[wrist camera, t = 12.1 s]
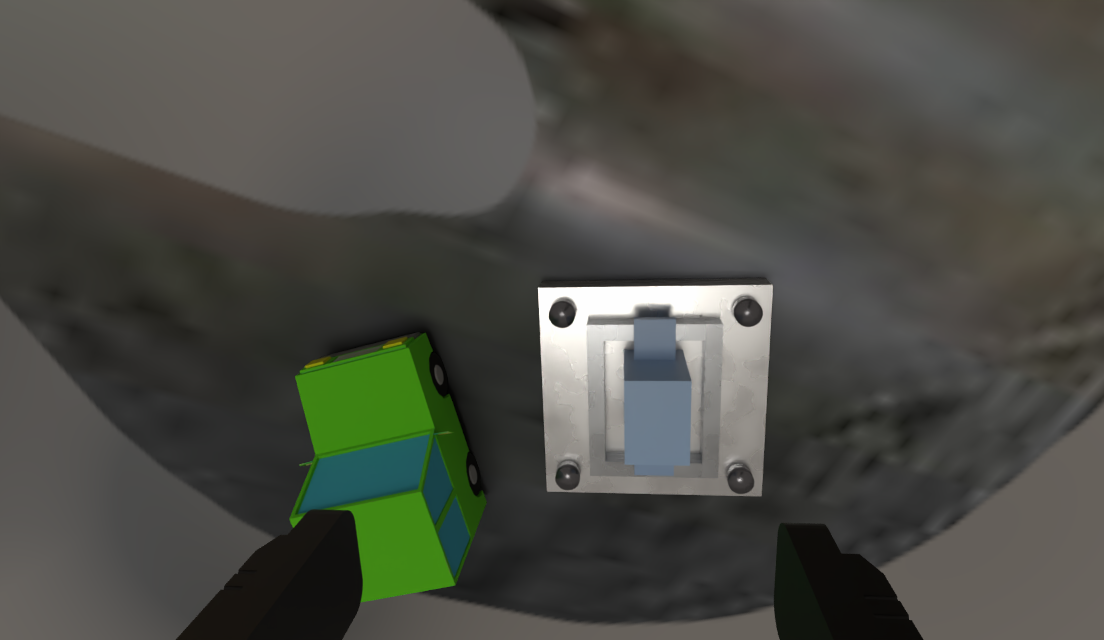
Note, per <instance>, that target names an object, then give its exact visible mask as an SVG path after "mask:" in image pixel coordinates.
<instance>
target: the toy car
mask: <svg viewBox="0 0 1104 640" xmlns="http://www.w3.org/2000/svg"><path fill="white" fill-rule="evenodd" d="M431 352H433V350H432V348H431V345H430V343H429V340H428V337H427V335H426V333H423V334H421V333H420V332H417V333H413V334H409V335H405V336H401V337H397V338H393V339H389V340H385V341H382V342H378V343H374V344H370V345H366V346H362V347H358V348H354V349H350V350H346V351H342V352H338V353H334V354H331V355H327V356H323V357H320V358H318V359H317V360H313V361H311V362H310V363H308V364H307V365H306V366H305V368H303V369H302V370H300V373H299V374H298V375H296V376H295V378H296V382H297V386H298V390H299V393H300V397H301V401H302V405H303V409H304V412H305V416H306V420H307V424H308V428H309V432H310V435H311V439H312V443H313V447H314V451H315V454H316V455H315V457H314V460H313V461H311V462H307V463H304V464H300V466H307V465H310V464H312V465H311V467H310V470H309V472H308V475H307V477H306V479H305V482H304V484H303V487H302V489H301V492H300V494H299V497H298V499H297V502H296V504H295V507H294V509H293V511H292V514H291V516H290V521H291V524H292V526H293V528H294V527H295V526H296V524H297V523H298V522H299V521H300V520H301V519H302V517H303V516H304V515H305V514H306V513H307V512H308V511H309V510H312V509H323V510H349V511H351V512H352V514H353V516H354V519H355V524H356V531H357V539H358V547H359V554H360V562H361V569H362V577H363V591H362V598H361V602H365V601H371V600H377V599H382V598H388V597H393V596H399V595H404V594H410V593H416V592H421V591H427V590H432V589H438V588H443V587H449V586H454V585H456V582H457V579H458V577H459V574H460V572H461V569H462V566H463V564H464V561H465V558H466V556H467V553H468V550H469V548H470V545H471V543H472V540H473V537H474V535H475V532H476V529H477V527H478V524H479V521H480V519H481V516H482V514H483V511H484V508H485V506H486V503H487V502H486V499H485V496H484V493H483V491H480V487H481V481H480V472H479V468H478V465H477V462H476V460H475V457H474V456H473V455H472V454H471V453H470V452H469V449H468V446H467V443H466V440H465V437H464V434H463V431H462V428H461V426H460V423H459V420H458V417H457V414H456V411H455V408H454V405H453V402H452V399H451V397H450V394H446V393H447V390H448V381H447V375H446V371H445V368H444V365H443V362H442V360H441V358H440V357H439V356H438V355H437V354H436V353H432V354H431ZM468 452H469V453H468Z"/></svg>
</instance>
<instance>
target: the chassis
mask: <svg viewBox="0 0 1104 640" xmlns="http://www.w3.org/2000/svg"><path fill="white" fill-rule="evenodd" d="M772 292H773V284H771V283H770V282H769V281H768V280H767V279H766V278H732V279H663V280H594V281H542V282H541V284H540V286H539V287H538V294H539V317H540V340H541V363H542V386H543V409H544V432H545V456H546V479H547V492H593V493H638V494H683V495H728V496H762V478H763V459H764V441H765V422H766V404H767V385H768V366H769V348H770V329H771V311H772ZM634 317H675V318H676V350H677V349H683V353H684V356H685V360H686V363H687V367H688V370H689V373H690V377H691V380H692V390H691V437H690V466H675V465H674V476H658V475H635V474H634V465H625V447H624V350H634Z"/></svg>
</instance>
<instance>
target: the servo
mask: <svg viewBox="0 0 1104 640" xmlns="http://www.w3.org/2000/svg"><path fill="white" fill-rule="evenodd" d="M691 390H692V380H691V377H690V373H689V370H688V367H687V363H686V360H685V356H684V353H683V349H677V350H676V318H675V317H634V350H624V447H625V465H634V474H635V475H658V476H674V465H675V466H690V437H691Z"/></svg>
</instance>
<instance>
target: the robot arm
mask: <svg viewBox="0 0 1104 640" xmlns="http://www.w3.org/2000/svg"><path fill="white" fill-rule="evenodd" d="M362 591H363V577H362V569H361V562H360V554H359V547H358V539H357V531H356V524H355V519H354V516H353V514H352V512H351V511H349V510H323V509H312V510H309V511H308V512H307V513H306V514H305V515H304V516H303V517H302V519H301V520H300V521H299V522H298V523H297V524H296V526H295V527H294V528H293V529H292V530H291V531H290V533H289V534H288V535H280V536H278V537H277V538H275V539H273V540H272V541H270V542H269V543H267V544H266V545H264V546H263V547H261V548H259V549H258V550H257V551H255V552H254V553H253V554H252V556H251V557H250V558H249V559H248V560H247V561H246V562H245V563H244V565H243V566H242V567H241V568H240V569H239V572H238V574H234V576H233V577H232V578H231V579H230V580H229V581H228V582H227V583H226V584H225V586H224V590H220V591H219V592H218V594H216V596H215V597H214V598H213V599H212V600H211V601H210V602H209V603H208V605H207V606H206V607H205V608H204V609H203V610H202V611H201V612H200V613H199V615H198V616H197V617H196V618H195V619H194V620H193V621H192V622H191V623H190V625H189V626H188V627H187V628H186V629H185V630H184V631H183V632H182V633H181V635H180V636H179V637H178V638H177V639H176V640H342V639H343V637H344V635H345V633H346V632H347V630H348V628H349V626H350V624H351V623H352V621H353V619H354V618H355V616H356V614H357V611H358V609H359V606H360V602H361V598H362ZM774 612H775V620H776V627H777V631H778V635H779V639H780V640H923V638H922V637H921V635H920V633H919V632H918V630H917V628H916V627H915V625H914V623H913V622H912V620H909V615H908V613H907V612H906V610H905V609H904V607H903V605H902V604H901V602H900V601H898V600H897V595H896V594H895V592H894V590H893V589H892V587H891V585H890V584H889V582H888V580H887V579H886V577H885V575H884V574H883V573H882V572H881V571H879V570H878V569H877V568H876V567H875V566H873V565H872V564H871V563H870V562H868V561H867V560H866V559H865V558H863V557H862V556H861V555H860V554H841V552H840V550H839V548H838V546H837V545H836V543H835V541H834V539H833V537H832V535H831V533H830V531H829V529H828V528H827V526H826V525H825V524H810V523H781V524H780V526H779V530H778V539H777V556H776V572H775V588H774Z"/></svg>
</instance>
